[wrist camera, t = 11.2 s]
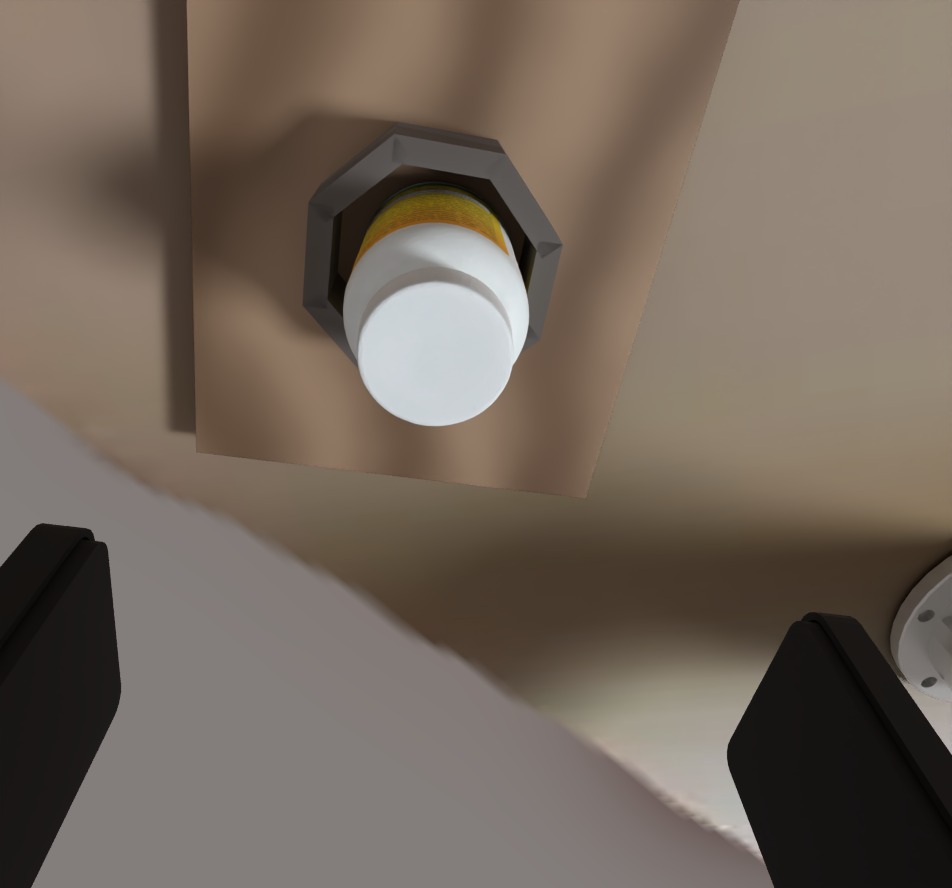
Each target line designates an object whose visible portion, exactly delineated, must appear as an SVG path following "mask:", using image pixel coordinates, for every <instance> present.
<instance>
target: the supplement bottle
mask: <svg viewBox="0 0 952 888" xmlns="http://www.w3.org/2000/svg"><path fill="white" fill-rule="evenodd" d="M343 320H344V328H345V332H346V336H347V340H348V343H349V345H350V348H351V350H352V352H353V354H354V356H355V357H356V359H357V362H358V367H359V372H360V375H361V378H362V380H363V383H364V385H365V386H366V388H367V390H368V391H369V393H370V394H371V396H372V397H373V398H374V399H375V400H376V401H377V402H378V403H379V404H380V405H381V406H382V407H383V408H384V409H386V410H387V411H388V412H390V413H391V414H393V415H395V416H397V417H399V418H401V419H403V420H406V421H409V422H411V423H414V424H419V425H425V426H445V425H452V424H456V423H460V422H463V421H466V420H468V419H471V418H473V417H475V416H476V415H478V414H480V413H481V412H483V411H484V410H485V409H487V408H488V407H489V406H490V405H492V403H493V402H494V401H495V400H496V399H497V398H498V397H499V395H500V394H501V392H502V391H503V390H504V388H505V386H506V384H507V382H508V380H509V377H510V374H511V370H512V366H513V364H514V363H515V362H516V360H517V358H518V356H519V354H520V352H521V350H522V348H523V345H524V343H525V339H526V336H527V331H528V325H529V305H528V298H527V293H526V289H525V286H524V283H523V279H522V276H521V273H520V270H519V267H518V264H517V261H516V258H515V255H514V251H513V248H512V244H511V241H510V237H509V235H508V233H507V230H506V228H505V226H504V223H503V221H502V220H501V218H500V216H499V215H498V214H497V212H496V211H495V210H494V208H493V207H492V206H491V205H490V204H489V203H488V202H487V201H486V200H484V199H483V198H482V197H481V196H479V195H478V194H476V193H474V192H472V191H470V190H468V189H466V188H464V187H461V186H459V185H455V184H451V183H446V182H423V183H418V184H414V185H411V186H409V187H406V188H404V189H402V190H400V191H399V192H397V193H395V194H394V195H392V196H391V197H390V198H388V199H387V200H386V201H385V202H384V203H383V204H382V205H381V207H380V208H379V209H378V211H377V212H376V214H375V215H374V217H373V219H372V220H371V222H370V225H369V226H368V229H367V232H366V234H365V237H364V240H363V243H362V245H361V248H360V251H359V253H358V256H357V258H356V261H355V264H354V267H353V269H352V273H351V275H350V278H349V281H348V283H347V286H346V289H345V295H344V304H343Z"/></svg>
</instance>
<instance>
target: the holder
mask: <svg viewBox="0 0 952 888" xmlns="http://www.w3.org/2000/svg"><path fill="white" fill-rule="evenodd" d="M739 1H740V0H187V40H188V86H189V132H190V178H191V224H192V270H193V316H194V363H195V409H196V452H199V453H207V454H215V455H224V456H232V457H241V458H249V459H257V460H266V461H274V462H283V463H291V464H299V465H308V466H316V467H325V468H333V469H341V470H350V471H358V472H367V473H375V474H383V475H392V476H400V477H408V478H417V479H425V480H434V481H442V482H450V483H459V484H467V485H476V486H484V487H492V488H501V489H509V490H518V491H526V492H534V493H543V494H551V495H560V496H568V497H576V498H585V499H586V497H587V493H588V490H589V487H590V484H591V480H592V477H593V474H594V471H595V468H596V464H597V461H598V458H599V455H600V451H601V448H602V445H603V442H604V438H605V435H606V432H607V429H608V425H609V422H610V419H611V416H612V412H613V409H614V406H615V403H616V399H617V396H618V393H619V390H620V386H621V383H622V380H623V377H624V373H625V370H626V367H627V364H628V360H629V357H630V354H631V351H632V348H633V344H634V341H635V338H636V335H637V331H638V328H639V325H640V322H641V318H642V315H643V312H644V309H645V305H646V302H647V299H648V296H649V292H650V289H651V286H652V283H653V279H654V276H655V273H656V270H657V266H658V263H659V260H660V257H661V253H662V250H663V247H664V244H665V241H666V237H667V234H668V231H669V228H670V224H671V221H672V218H673V215H674V211H675V208H676V205H677V202H678V198H679V195H680V192H681V189H682V185H683V182H684V179H685V176H686V172H687V169H688V166H689V163H690V159H691V156H692V153H693V150H694V146H695V143H696V140H697V137H698V133H699V130H700V127H701V124H702V121H703V117H704V114H705V111H706V108H707V104H708V101H709V98H710V95H711V91H712V88H713V85H714V82H715V78H716V75H717V72H718V69H719V65H720V62H721V59H722V56H723V52H724V49H725V46H726V43H727V39H728V36H729V33H730V30H731V26H732V23H733V20H734V17H735V13H736V10H737V7H738V4H739ZM423 182H446V183H451V184H455V185H459V186H461V187H464V188H466V189H468V190H470V191H472V192H474V193H476V194H478V195H479V196H481V197H482V198H483V199H484V200H486V201H487V202H488V203H489V204H490V205H491V206H492V207H493V208H494V210H495V211H496V212H497V214H498V215H499V216H500V218H501V220H502V221H503V223H504V226H505V228H506V230H507V233H508V235H509V237H510V241H511V244H512V248H513V251H514V255H515V258H516V261H517V264H518V267H519V270H520V273H521V276H522V279H523V283H524V286H525V289H526V293H527V298H528V305H529V325H528V331H527V336H526V339H525V343H524V345H523V348H522V350H521V352H520V354H519V356H518V358H517V360H516V362H515V363H514V364H513V366H512V370H511V374H510V377H509V380H508V382H507V384H506V386H505V388H504V390H503V391H502V392H501V394H500V395H499V397H498V398H497V399H496V400H495V401H494V402H493V403H492V405H490V406H489V407H488V408H487V409H485V410H484V411H483V412H481V413H480V414H478V415H476V416H475V417H473V418H471V419H468V420H466V421H463V422H460V423H456V424H452V425H445V426H425V425H419V424H414V423H411V422H409V421H406V420H403V419H401V418H399V417H397V416H395V415H393V414H391V413H390V412H388V411H387V410H386V409H384V408H383V407H382V406H381V405H380V404H379V403H378V402H377V401H376V400H375V399H374V398H373V397H372V396H371V394H370V393H369V391H368V390H367V388H366V386H365V385H364V383H363V380H362V378H361V375H360V372H359V367H358V362H357V359H356V357H355V356H354V354H353V352H352V350H351V348H350V345H349V343H348V340H347V336H346V332H345V328H344V320H343V304H344V295H345V289H346V286H347V283H348V281H349V278H350V275H351V273H352V269H353V267H354V264H355V261H356V258H357V256H358V253H359V251H360V248H361V245H362V243H363V240H364V237H365V234H366V232H367V229H368V226H369V225H370V222H371V220H372V219H373V217H374V215H375V214H376V212H377V211H378V209H379V208H380V207H381V205H382V204H383V203H384V202H385V201H386V200H387V199H388V198H390V197H391V196H392V195H394V194H395V193H397V192H399V191H400V190H402V189H404V188H406V187H409V186H411V185H414V184H418V183H423Z"/></svg>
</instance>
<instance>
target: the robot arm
mask: <svg viewBox="0 0 952 888" xmlns="http://www.w3.org/2000/svg"><path fill="white" fill-rule="evenodd" d="M890 644H891V653H892V656H893V658H894V661H895V663H896V665H897V667H898V668H899V669H900V671H901V672H902V673H903V675H904V676H905V678H906V679H907V681H908V682H909V683H910V684H911V685H912V686H914V687H915V688H916V689H917V690H918V691H920V692H922V693H924V694H926V695H928V696H930V697H932V698H936V699H940V700H944V701H948V702H952V555H951V556H950V557H948V558H946V559H945V560H944V561H943V562H941V563H940V564H939V565H938V566H936V567H935V568H934V569H932V570H931V571H930V572H929V573H928V574H927V575H926V576H925V577H924V578H923V579H922V580H921V581H920V582H919V583H918V584H917V585H916V586H915V587H914V588H913V589H912V591H911V592H910V593H909V595H908V596H907V598H906V599H905V601H904V602H903V604H902V605H901V607H900V609H899V611H898V613H897V615H896V618H895V620H894V622H893V626H892V631H891V636H890ZM120 694H121V680H120V670H119V661H118V650H117V640H116V630H115V620H114V609H113V598H112V588H111V578H110V567H109V557H108V549H107V546H106V544H105V543H103V542H98V541H95V539H94V535H93V533H92V531H91V530H89V529H86V528H78V527H70V526H61V525H52V524H44V523H42V524H39V525H36V526H35V527H34V528H33V529H32V530H31V531H30V532H29V534H28V535H27V536H26V537H25V538H24V540H23V541H22V542H21V543H20V544H19V546H18V547H17V548H16V549H15V550H14V552H13V553H12V554H11V555H10V556H9V558H8V559H7V560H6V561H5V562H4V564H3V565H2V566H1V567H0V888H31V887H32V885H33V882H34V880H35V878H36V876H37V874H38V872H39V870H40V868H41V866H42V864H43V862H44V860H45V858H46V855H47V854H48V851H49V850H50V848H51V845H52V843H53V841H54V839H55V837H56V835H57V833H58V831H59V829H60V827H61V825H62V823H63V821H64V819H65V817H66V815H67V813H68V810H69V809H70V806H71V804H72V802H73V800H74V798H75V796H76V794H77V792H78V790H79V788H80V786H81V784H82V782H83V780H84V777H85V775H86V773H87V772H88V769H89V767H90V765H91V763H92V761H93V759H94V757H95V755H96V753H97V751H98V749H99V747H100V745H101V743H102V741H103V739H104V737H105V734H106V732H107V730H108V728H109V726H110V724H111V722H112V720H113V718H114V716H115V713H116V711H117V708H118V705H119V700H120ZM727 761H728V766H729V770H730V773H731V775H732V778H733V780H734V783H735V786H736V788H737V791H738V794H739V796H740V799H741V801H742V804H743V807H744V809H745V812H746V814H747V817H748V820H749V822H750V825H751V828H752V830H753V833H754V835H755V838H756V841H757V843H758V846H759V849H760V851H761V854H762V856H763V859H764V862H765V864H766V867H767V870H768V872H769V875H770V877H771V880H772V883H773V885H774V888H952V755H951V753H950V752H949V750H948V749H947V747H946V746H945V745H944V743H943V742H942V740H941V739H940V737H939V736H938V735H937V733H936V732H935V730H934V729H933V727H932V726H931V725H930V723H929V722H928V720H927V719H926V717H925V716H924V714H923V713H922V712H921V710H920V709H919V707H918V706H917V704H916V703H915V702H914V700H913V699H912V697H911V696H910V694H909V693H908V691H907V690H906V689H905V687H904V686H903V684H902V683H901V681H900V680H899V679H898V677H897V676H896V674H895V673H894V671H893V670H892V669H891V667H890V666H889V664H888V663H887V661H886V660H885V658H884V657H883V656H882V654H881V653H880V651H879V650H878V648H877V647H876V646H875V644H874V643H873V641H872V640H871V638H870V637H869V635H868V634H867V633H866V631H865V630H864V628H863V627H862V625H861V624H860V623H859V622H858V621H857V620H856V619H854V618H852V617H850V616H843V615H834V614H825V613H817V612H811V613H808V614H806V615H805V616H804V617H803V618H802V620H801V621H796V622H795V623H793V624H792V625H791V627H790V628H789V630H788V632H787V634H786V636H785V638H784V640H783V642H782V643H781V645H780V647H779V649H778V651H777V653H776V655H775V657H774V658H773V660H772V662H771V664H770V666H769V668H768V670H767V672H766V674H765V675H764V677H763V679H762V681H761V683H760V685H759V687H758V689H757V690H756V692H755V694H754V696H753V698H752V700H751V702H750V704H749V705H748V707H747V709H746V711H745V713H744V715H743V717H742V719H741V721H740V722H739V724H738V726H737V728H736V730H735V732H734V734H733V736H732V737H731V739H730V742H729V744H728V749H727Z"/></svg>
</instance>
